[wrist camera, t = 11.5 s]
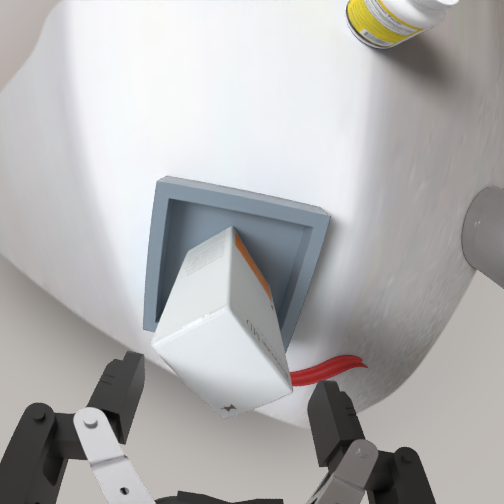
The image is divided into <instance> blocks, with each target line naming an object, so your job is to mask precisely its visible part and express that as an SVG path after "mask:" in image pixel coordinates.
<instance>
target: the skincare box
mask: <svg viewBox="0 0 504 504" xmlns="http://www.w3.org/2000/svg"><path fill="white" fill-rule="evenodd" d="M151 346H152V348H153V349H154V350H155V351H156V352H157V353H158V354H159V355H160V357H161V358H162V359H163V360H164V361H165V362H166V363H167V364H168V365H169V366H170V367H171V369H172V370H173V371H174V372H175V373H176V374H177V375H178V376H179V378H180V379H181V380H182V382H183V383H184V384H185V385H186V386H187V387H188V388H189V389H190V390H191V391H192V392H193V393H194V394H196V395H197V396H199V397H200V398H201V399H202V400H203V401H204V402H205V403H206V404H207V405H208V406H210V407H211V408H212V409H213V410H214V411H215V412H216V413H217V414H218V415H219V416H220V417H222V418H223V419H227V418H230V417H233V416H236V415H239V414H241V413H244V412H247V411H249V410H252V409H255V408H258V407H260V406H263V405H265V404H268V403H270V402H273V401H275V400H278V399H280V398H282V397H284V396H287V395H289V394H291V393H292V392H293V387H292V383H291V378H290V373H289V369H288V364H287V360H286V355H285V351H284V346H283V342H282V337H281V333H280V329H279V324H278V319H277V315H276V311H275V307H274V302H273V298H272V293H271V289H270V285H269V283H268V282H267V280H266V279H265V277H264V276H263V274H262V273H261V271H260V270H259V268H258V267H257V265H256V263H255V262H254V260H253V259H252V257H251V256H250V254H249V252H248V250H247V249H246V247H245V245H244V244H243V242H242V240H241V239H240V237H239V235H238V234H237V232H236V230H235V228H234V227H233V226H231V227H229V228H227V229H225V230H224V231H222V232H220V233H219V234H217V235H215V236H213V237H212V238H210V239H208V240H206V241H204V242H203V243H201V244H199V245H197V246H196V247H194V248H192V249H191V250H189V251H188V252H187V254H186V257H185V259H184V261H183V264H182V266H181V269H180V271H179V273H178V276H177V278H176V281H175V283H174V286H173V288H172V291H171V293H170V296H169V298H168V301H167V304H166V306H165V308H164V311H163V313H162V316H161V318H160V321H159V324H158V326H157V329H156V331H155V333H154V336H153V338H152V341H151Z"/></svg>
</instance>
